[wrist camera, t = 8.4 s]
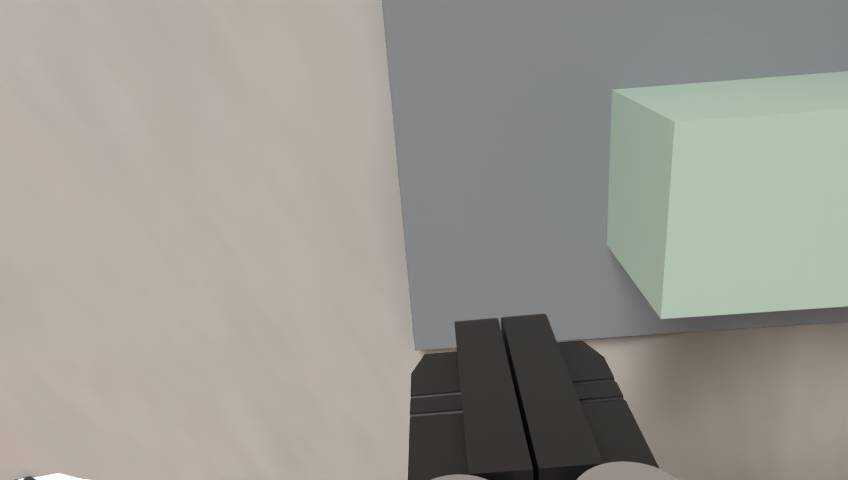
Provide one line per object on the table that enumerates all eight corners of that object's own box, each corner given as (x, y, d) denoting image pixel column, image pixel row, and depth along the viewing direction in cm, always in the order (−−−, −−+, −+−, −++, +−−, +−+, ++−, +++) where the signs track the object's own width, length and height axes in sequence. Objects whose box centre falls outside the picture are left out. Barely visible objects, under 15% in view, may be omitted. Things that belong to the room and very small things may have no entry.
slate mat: (381, -19, 18) (380, -19, 18) (1239, -91, 17) (1266, -93, 17) (415, 341, 22) (415, 350, 22) (1101, 295, 22) (1118, 303, 21)
